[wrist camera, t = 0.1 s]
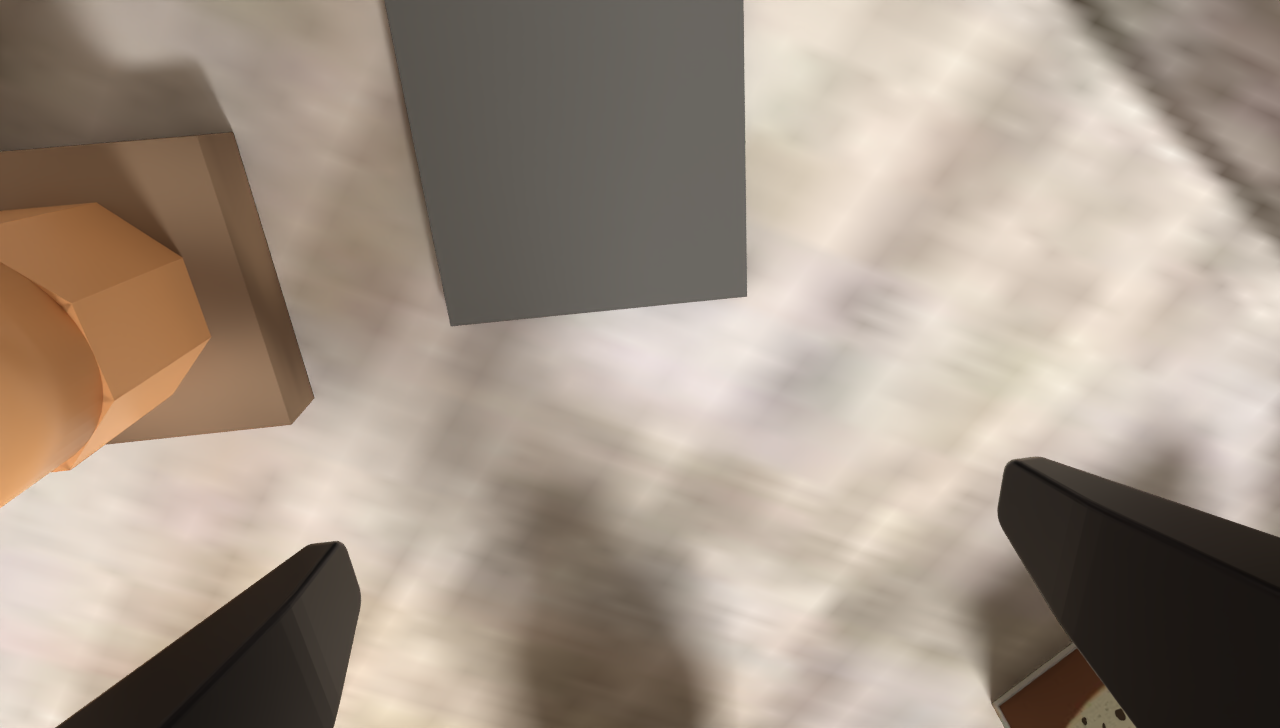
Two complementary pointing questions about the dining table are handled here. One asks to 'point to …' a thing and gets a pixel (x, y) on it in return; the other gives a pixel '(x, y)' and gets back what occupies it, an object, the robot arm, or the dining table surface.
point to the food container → (1061, 697)
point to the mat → (577, 151)
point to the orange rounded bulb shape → (84, 335)
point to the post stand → (188, 268)
